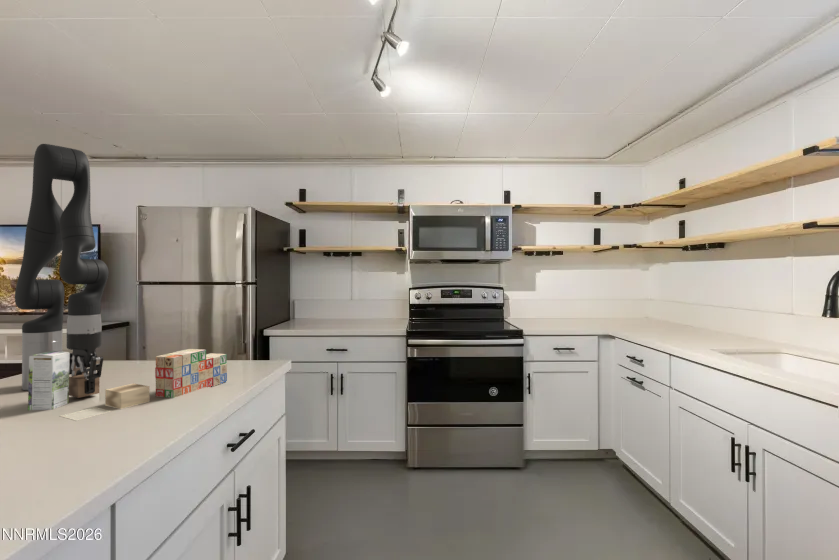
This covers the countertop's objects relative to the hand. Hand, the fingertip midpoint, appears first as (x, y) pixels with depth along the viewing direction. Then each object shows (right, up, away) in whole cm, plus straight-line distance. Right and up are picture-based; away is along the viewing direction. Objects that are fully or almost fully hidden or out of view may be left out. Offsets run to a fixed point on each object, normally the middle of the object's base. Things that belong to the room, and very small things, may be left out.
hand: (84, 391), depth 114 cm
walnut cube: (0, -1, 0) cm, 1 cm away
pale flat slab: (+11, -2, -8) cm, 14 cm away
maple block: (+16, -2, -5) cm, 17 cm away
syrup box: (-2, -2, -8) cm, 9 cm away
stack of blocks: (+25, -3, +11) cm, 27 cm away
